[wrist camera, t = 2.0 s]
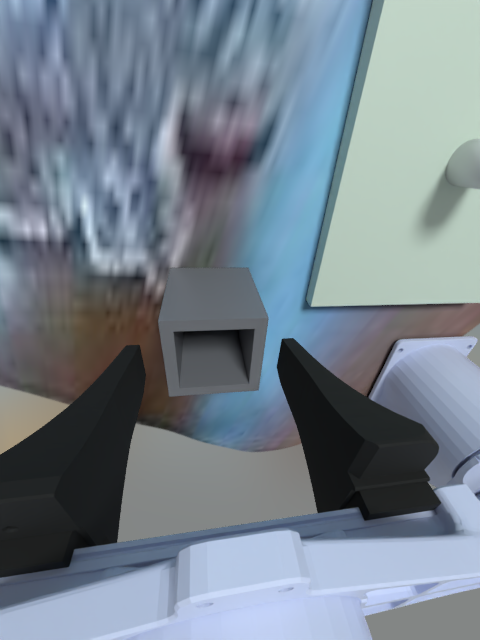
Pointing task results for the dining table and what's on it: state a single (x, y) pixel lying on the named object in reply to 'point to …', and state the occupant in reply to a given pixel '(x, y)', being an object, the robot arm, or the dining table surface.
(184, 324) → the duct sleeve
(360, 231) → the duct base
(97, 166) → the dining table surface
